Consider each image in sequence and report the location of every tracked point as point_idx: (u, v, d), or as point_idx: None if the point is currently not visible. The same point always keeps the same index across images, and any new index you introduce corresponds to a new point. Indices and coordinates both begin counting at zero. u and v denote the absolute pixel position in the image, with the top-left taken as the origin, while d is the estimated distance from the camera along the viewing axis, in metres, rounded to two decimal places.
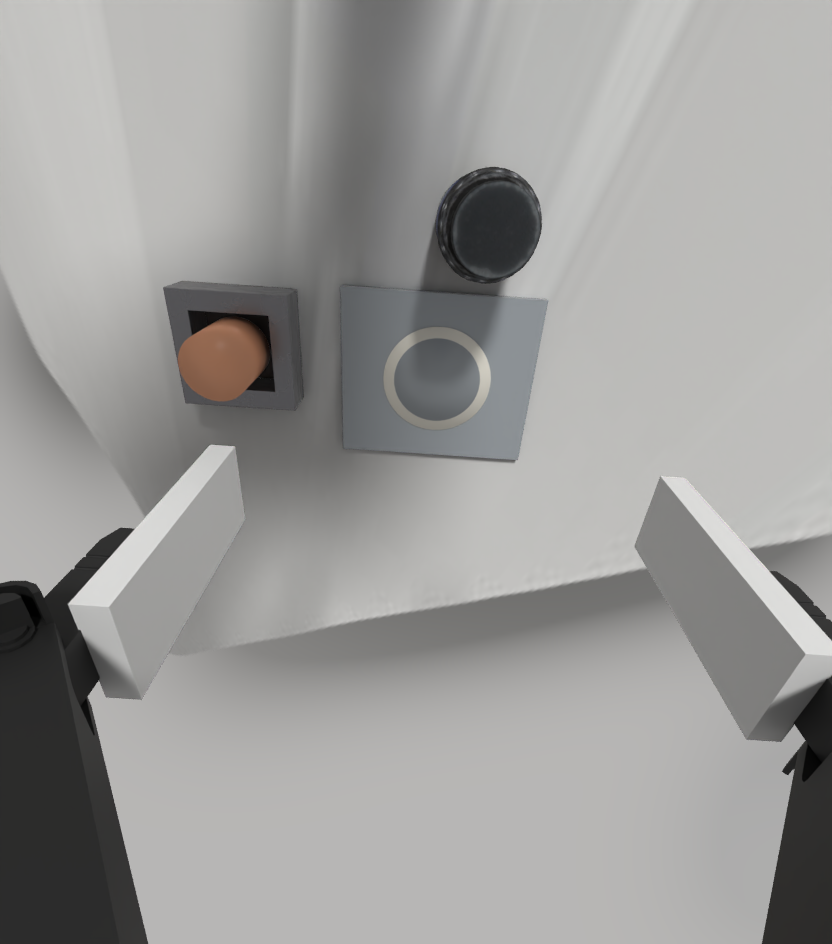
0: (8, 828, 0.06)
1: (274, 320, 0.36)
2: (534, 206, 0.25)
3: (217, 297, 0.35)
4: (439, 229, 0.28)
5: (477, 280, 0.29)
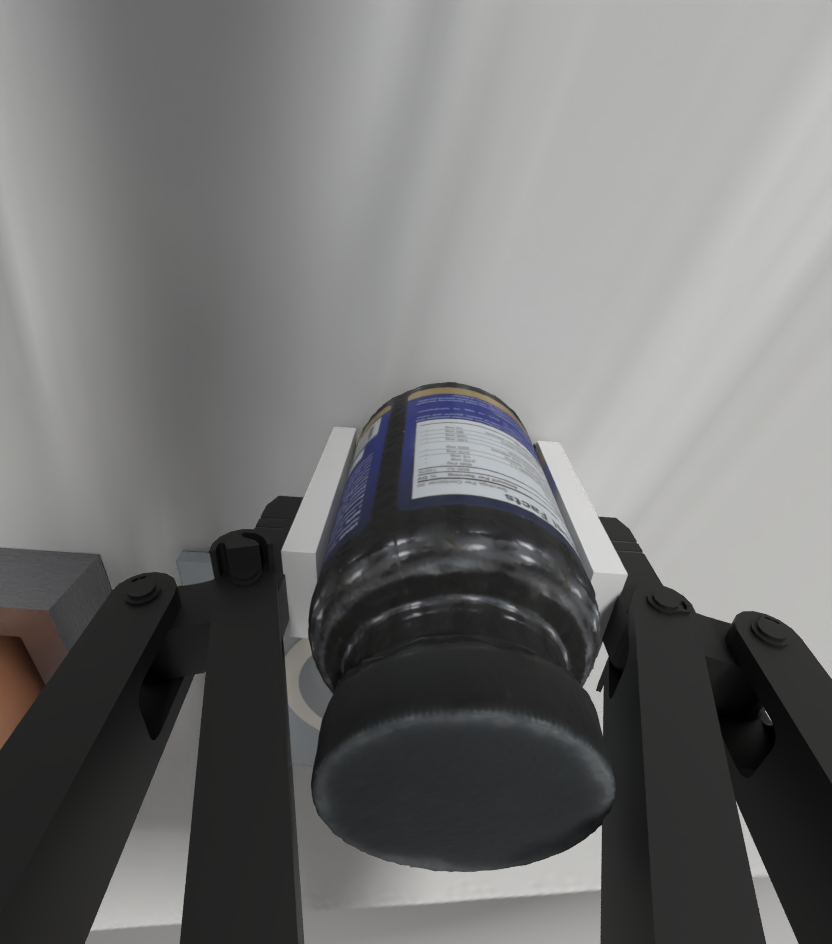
0: (226, 735, 0.07)
1: (35, 643, 0.18)
2: (600, 763, 0.07)
3: None
4: (311, 648, 0.10)
5: None
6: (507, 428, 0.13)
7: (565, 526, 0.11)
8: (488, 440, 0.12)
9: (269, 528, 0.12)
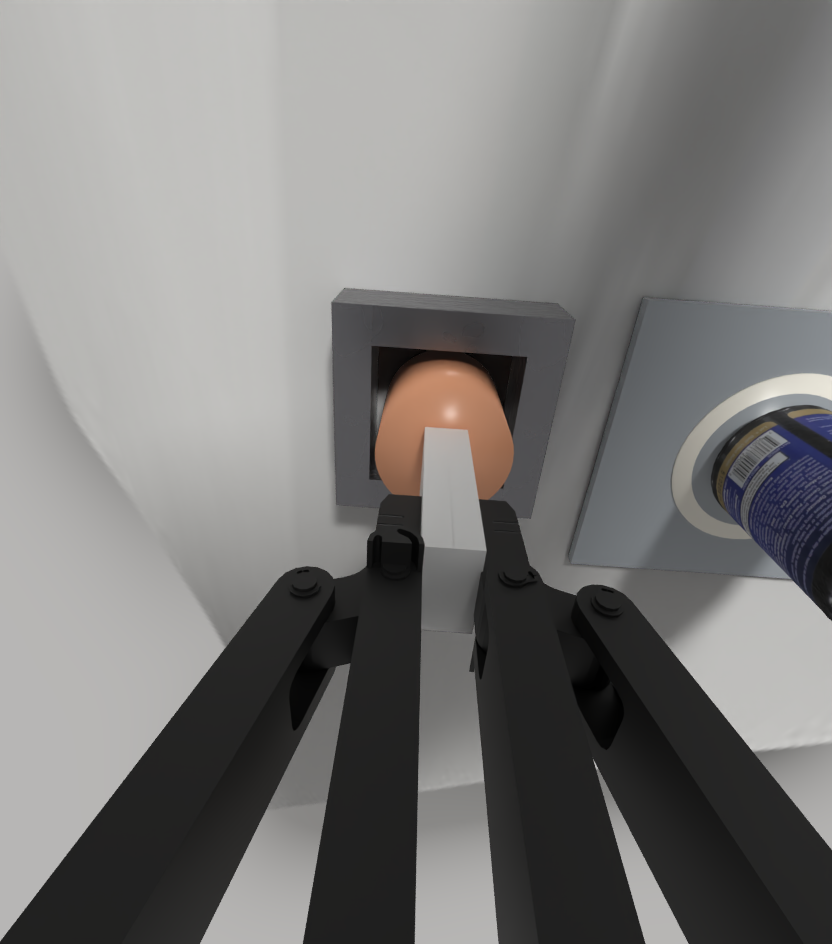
0: (365, 719, 0.07)
1: (537, 365, 0.19)
2: None
3: (434, 322, 0.18)
4: None
5: None
6: None
7: None
8: None
9: (390, 525, 0.13)
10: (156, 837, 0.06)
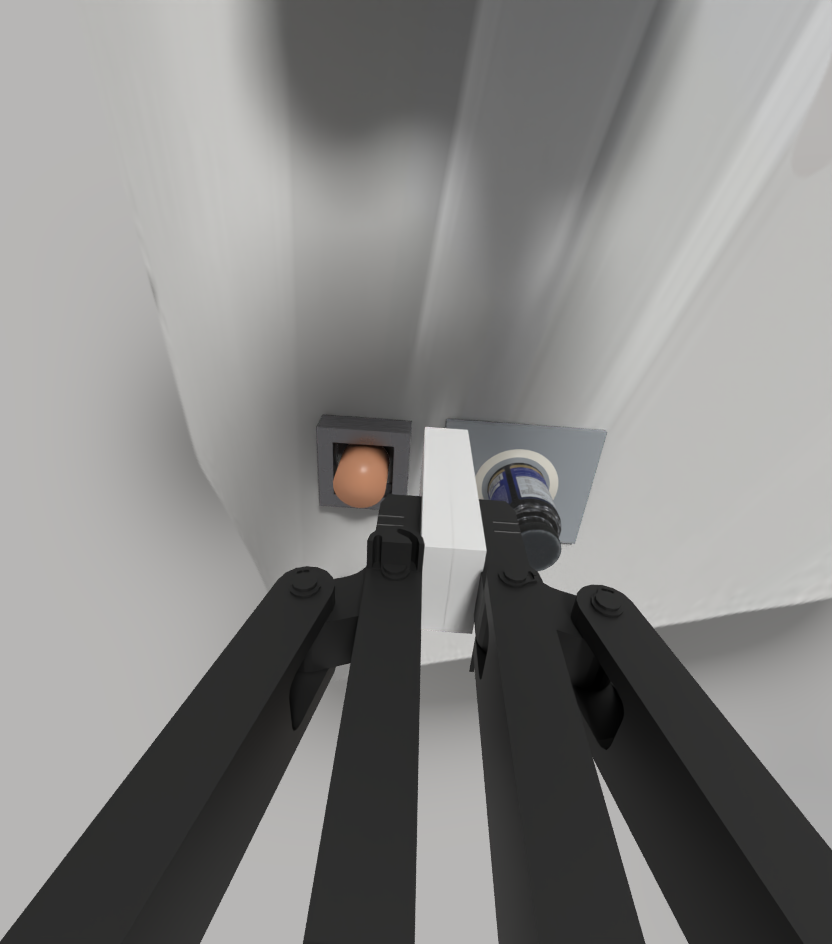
0: (365, 719, 0.07)
1: (398, 449, 0.47)
2: (558, 541, 0.41)
3: (356, 434, 0.46)
4: None
5: None
6: (539, 479, 0.47)
7: (554, 505, 0.45)
8: (536, 483, 0.46)
9: (390, 525, 0.13)
10: (156, 837, 0.06)
